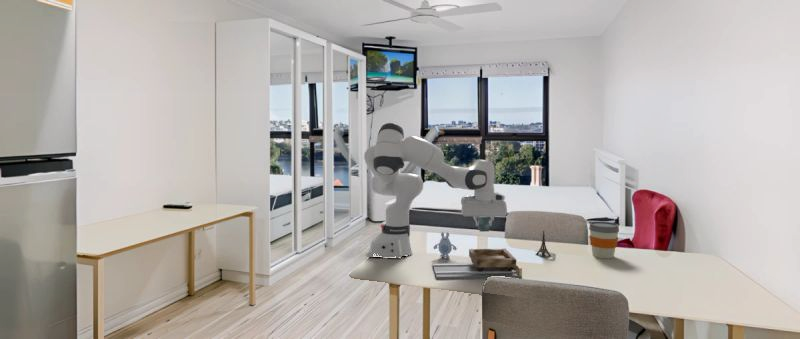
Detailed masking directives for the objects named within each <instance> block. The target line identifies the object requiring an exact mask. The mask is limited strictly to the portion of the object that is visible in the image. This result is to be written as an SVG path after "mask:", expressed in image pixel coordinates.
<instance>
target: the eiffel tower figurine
mask: <svg viewBox="0 0 800 339" xmlns="http://www.w3.org/2000/svg"><path fill="white" fill-rule="evenodd" d="M545 238H546V237H545V230H543V231H542V240H541V246H540V248H539V249H538V250H537V251H536V252H535V256H538V257H540V258H543V259H544V258H549V260H548V261H551V262H555V261H556V256H557V254H556V253H554V252H551V251H550V252H549V250H548V249H547V245H546V241H545V240H546V239H545Z"/></svg>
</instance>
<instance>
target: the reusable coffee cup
mask: <svg viewBox="0 0 800 339" xmlns="http://www.w3.org/2000/svg"><path fill="white" fill-rule="evenodd" d="M588 229H589V233H590V234H589V242H590V243H589V244H590V246H591V251H592V252H591V253H592V256H593V257H594V258H598V257H599V258H598V259H604V258H610V259H613V258H614V257H615V252H616V248H617V246H618V240H619V237H618V234H619V232H620V227H619V224H617V223H615V222H609V221H591V222H590V223H589V227H588Z"/></svg>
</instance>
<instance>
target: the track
mask: <svg viewBox="0 0 800 339" xmlns="http://www.w3.org/2000/svg"><path fill="white" fill-rule="evenodd" d="M431 265H433V266H432V269H433V268H434V269H433V272H434V275H436V276H435V279H436V278H437V279H436V280H473V279H474V280H476V279H477V280H478V279H479V280H480V279H481V280H483V279H484V280H485V279H486V280H488V279H487V278H488V277H491V276H505V277H515V278H514V279H523V268H522V266H521V265H519V263H517V262H516V267H513V270H512V271H507V270H506V268H505V267H484V270H483V271H481V272H479V271H477V269H476V266H475V264H473V263H472V262H432V264H431Z"/></svg>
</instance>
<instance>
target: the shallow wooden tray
mask: <svg viewBox="0 0 800 339" xmlns="http://www.w3.org/2000/svg"><path fill="white" fill-rule="evenodd" d="M468 256H469V258H470V262H471V263H473V264H475V266H476V269H477V271H479V272H481V271H483V270H484V267H505V268H506V270H507V271H512V270H513V267H516V263H517V259H516V257H515V256H513V254H511V252H509V250H508V249H507V248H469V249H468Z"/></svg>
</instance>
